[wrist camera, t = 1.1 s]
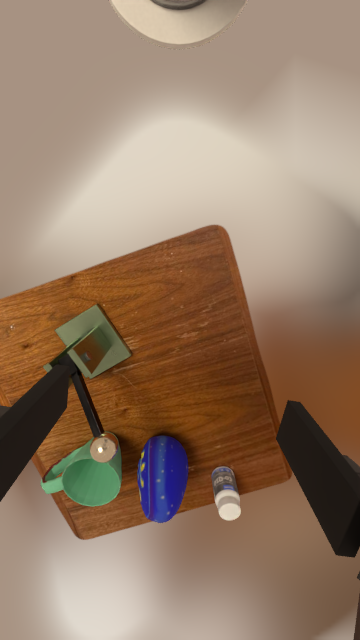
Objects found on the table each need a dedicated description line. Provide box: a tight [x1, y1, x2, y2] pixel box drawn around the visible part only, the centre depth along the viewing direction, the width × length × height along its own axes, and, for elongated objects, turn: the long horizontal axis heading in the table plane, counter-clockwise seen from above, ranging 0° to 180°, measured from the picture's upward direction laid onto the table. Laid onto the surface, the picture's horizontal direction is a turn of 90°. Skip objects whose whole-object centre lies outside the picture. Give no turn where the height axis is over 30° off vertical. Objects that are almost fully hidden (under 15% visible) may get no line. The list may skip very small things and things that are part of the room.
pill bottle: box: [212, 466, 241, 520], centre depth 52 cm, size 5×5×8 cm
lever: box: [58, 354, 118, 463], centre depth 36 cm, size 15×4×4 cm, turn 31°
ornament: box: [137, 436, 188, 523], centre depth 47 cm, size 11×9×15 cm
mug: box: [41, 431, 122, 506], centre depth 49 cm, size 15×10×10 cm
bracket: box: [43, 304, 132, 388], centre depth 43 cm, size 11×9×13 cm
